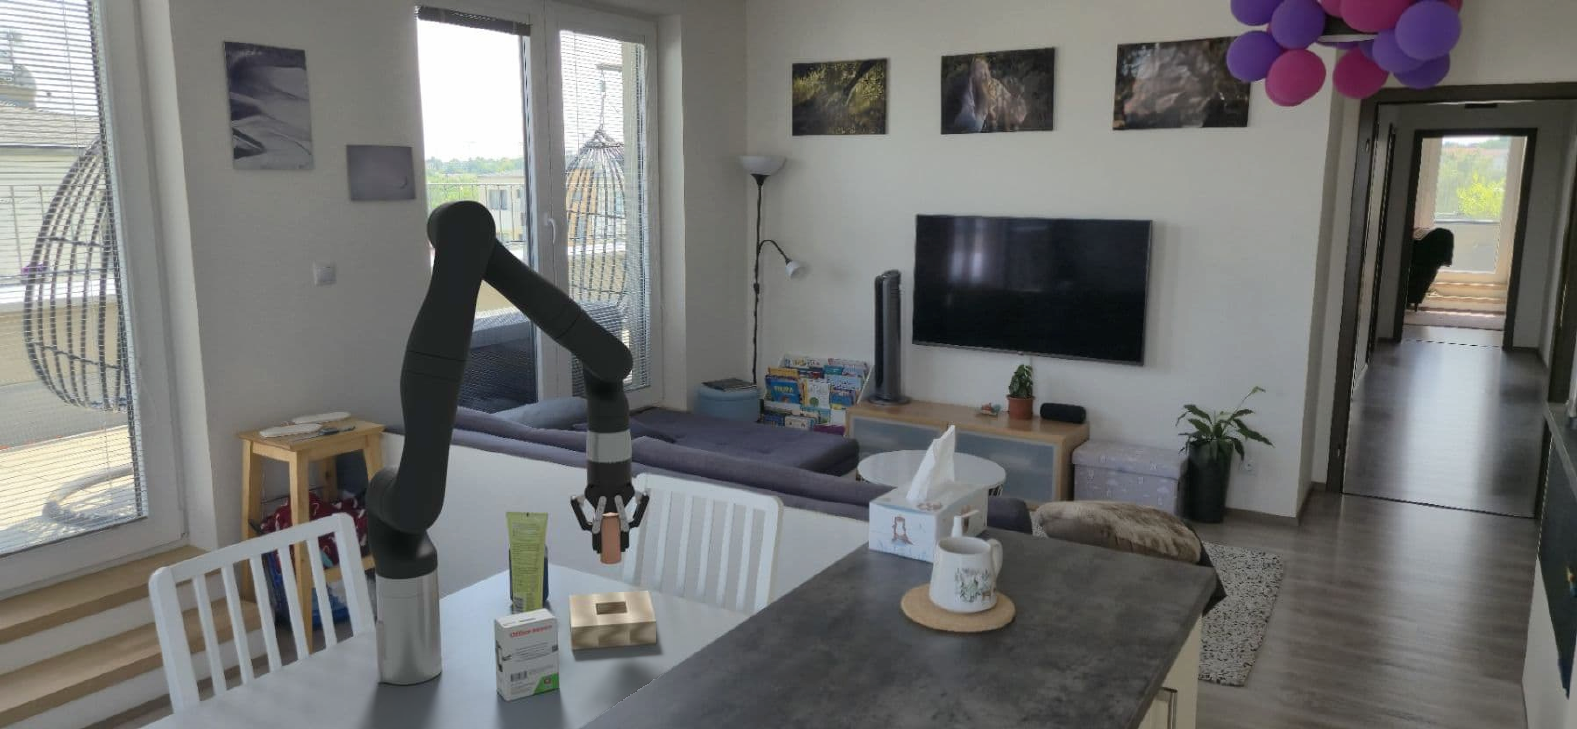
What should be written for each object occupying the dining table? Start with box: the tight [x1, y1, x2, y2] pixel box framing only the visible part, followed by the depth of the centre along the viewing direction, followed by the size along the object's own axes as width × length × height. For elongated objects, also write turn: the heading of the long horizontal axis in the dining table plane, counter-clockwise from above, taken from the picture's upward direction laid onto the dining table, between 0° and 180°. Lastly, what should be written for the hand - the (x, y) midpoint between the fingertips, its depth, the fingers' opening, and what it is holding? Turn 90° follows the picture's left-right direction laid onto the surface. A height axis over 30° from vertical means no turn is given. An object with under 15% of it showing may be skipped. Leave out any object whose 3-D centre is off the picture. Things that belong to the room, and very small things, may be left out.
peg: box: [599, 513, 622, 565], centre depth 190 cm, size 4×4×8 cm
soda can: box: [508, 543, 550, 605], centre depth 204 cm, size 7×7×12 cm
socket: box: [568, 590, 657, 651], centre depth 193 cm, size 14×14×4 cm
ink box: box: [493, 607, 561, 702], centre depth 170 cm, size 9×5×12 cm, turn 123°
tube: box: [505, 510, 549, 615], centre depth 196 cm, size 6×5×20 cm
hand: (610, 551), depth 191 cm, fingers closed on peg, 3 cm apart
